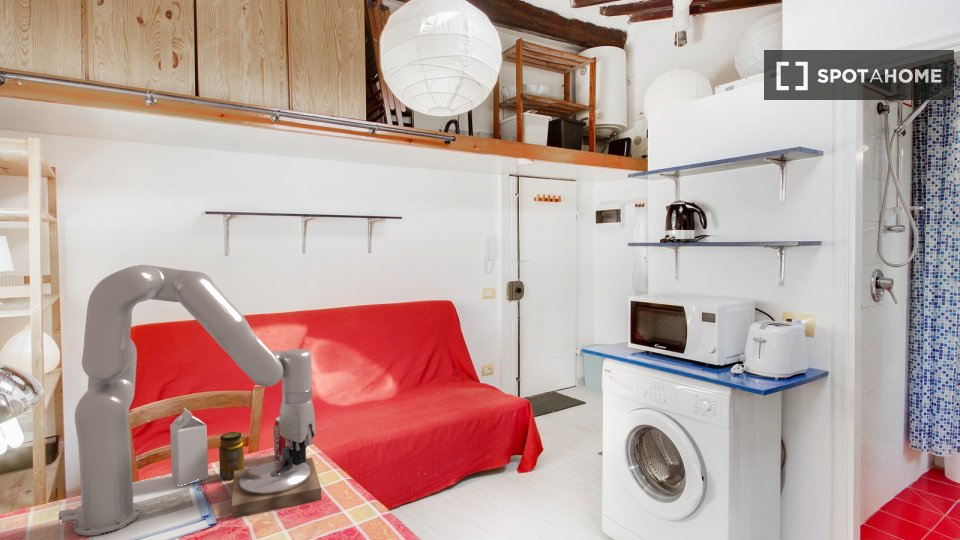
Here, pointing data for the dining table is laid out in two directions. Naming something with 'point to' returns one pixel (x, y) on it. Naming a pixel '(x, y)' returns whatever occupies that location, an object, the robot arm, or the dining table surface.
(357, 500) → the dining table surface
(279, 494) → the stand
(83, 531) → the robot arm
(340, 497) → the dining table surface
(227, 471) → the condiment
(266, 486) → the dial
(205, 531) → the dining table surface
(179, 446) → the milk carton
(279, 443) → the soda can
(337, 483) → the dining table surface
